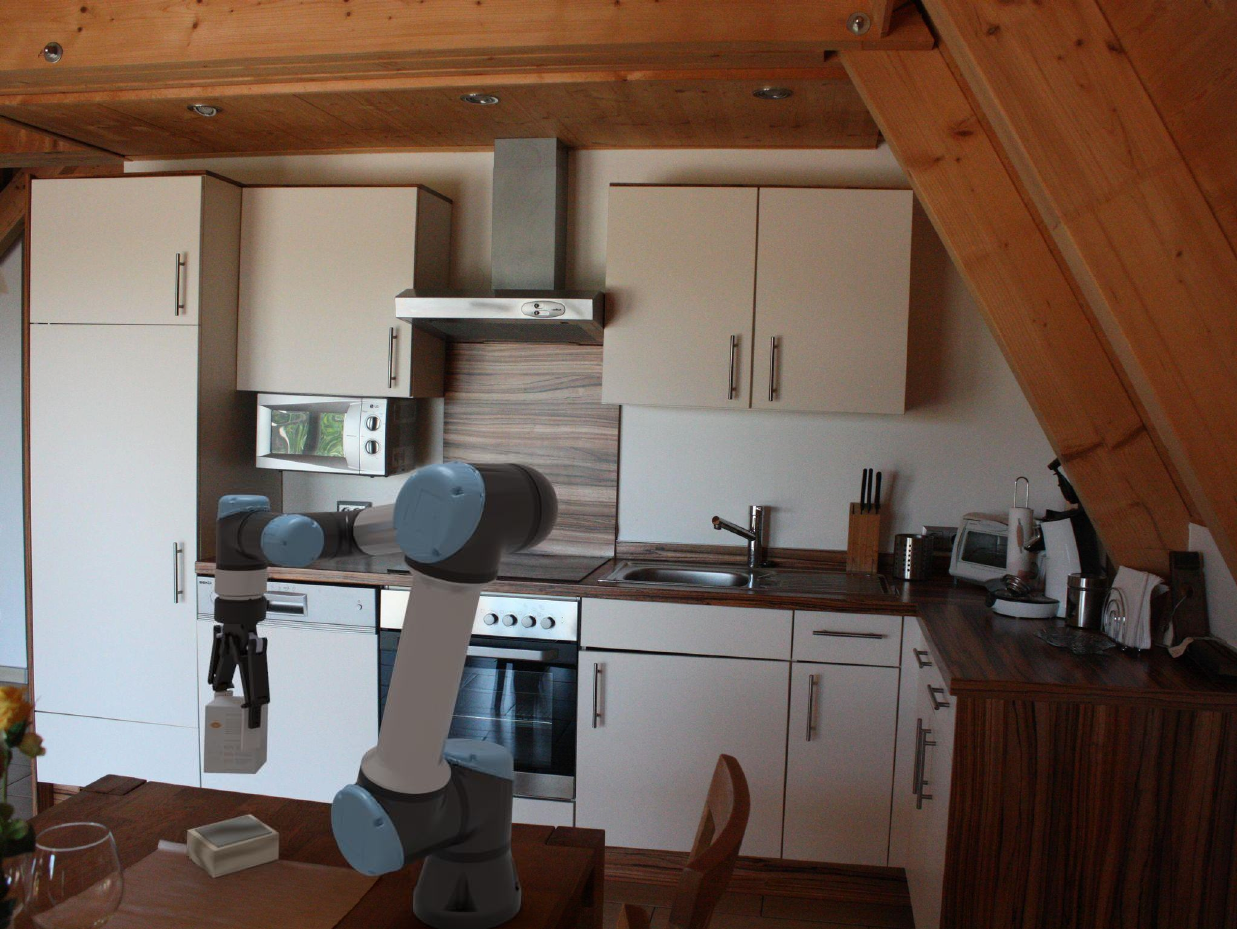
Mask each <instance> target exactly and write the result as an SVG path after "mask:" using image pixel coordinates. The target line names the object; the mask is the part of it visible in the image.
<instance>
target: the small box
mask: <svg viewBox="0 0 1237 929" xmlns="http://www.w3.org/2000/svg"><path fill="white" fill-rule="evenodd" d="M244 703H245V699H244V695H243V696H239V695H238V696H237V695H236V696H235V695H233V696H218V697H216V698H215V699H214V698H213V699H212V700H211V701H209V702H208V703H207V704H206V705H205V707H204V735H203V736H204V740H203V741H204V742H203V743H204V744H203V746H204V747H203V773H205V774H230V775H231V774H232V775H233V774H237V775H238V774H239V775H255V774H257V773H258V772H259V771H260V769H261V768H262V767H263V766H265V764H266V763H267V762H268V761H267V760H268V726H269V724H268V723H269V704H264V705H262V711H261V740H260V747H259V748H254V749H249V750H244V751H242V750H241V725H242V708H241V705H242V704H244Z"/></svg>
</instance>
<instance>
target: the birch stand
mask: <svg viewBox="0 0 1237 929" xmlns="http://www.w3.org/2000/svg"><path fill="white" fill-rule="evenodd" d="M186 832H187V833H186V857H188V856H189V857H188V858H189V859H190V860H191V859H192V860H191V861H192V862H194V864H196V865H197V866H198V867H200V869H202V870H203V871H205V872H206V873H207V874H208V875H209V876H211V877H212V879H214V878H218V877H221V876H226V875H229V874H233V873H236V872H239V871H243V870H246V869H249V868H252V867H256V866H259V865H262V864H268V863H269V862H273V861H276V860H279V847H280V832H278V831H276V830H275V829H273V828H272V827H271V826H269V825H268V824H266V823H265V822H262V821H261V820H259V818H256V817H255V816H254V815H253V814H251V813H249V814H245V815H241V816H237V817H234V818H230V819H229V818H228V819H225V820H222V821H218V822H214V823H210V824H207V825H202V826H198V827H194V828H191V829H187V831H186Z"/></svg>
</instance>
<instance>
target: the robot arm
mask: <svg viewBox="0 0 1237 929" xmlns="http://www.w3.org/2000/svg"><path fill="white" fill-rule="evenodd" d="M217 507H218V509H217V518H216V519H215V523H216V527H215V528H216V529H215V530H216V534H215V536H216V537H215V538H216V539H215V542H216V543H215V568H214V589H213V590H214V594H216V597H215V599H214V604H213V610H214V611H213V619H214V621H215V622H217V623H218V624H215V625H213V627H212V628H213V629H212V631H213V633H212V634H213V635H212V636H213V638H212V639H213V640H212V646H211V652H210V653H211V654H210V661H209V667H208V675H207V684H208V685H211V686H212V688H211V689H212V691H213V692H214V693H213V700H214V699H215V698H216V697H218V696H234V690H233V689H235V688H236V687H235V684H234V683H233V679H234V676H235V673H236V669H237V666H238V670H239V677H240V682H241V688H242V693H243V696H244V699H245V703H244V704H242V705H241V708H242V725H241V750H242V751H244V750H249V749H254V748H259V747H260V740H261V711H262V705H264V704H268V705H269V704H270V703H271V693H270V692H271V691H270V679H269V678H270V677H269V669H268V668H269V665H268V651H267V650H268V642H269V641H268V638H267V637H266V636H264V637H259V636H258V635H259V634H258V628H257V625H258V623H260V622H261V623H262V622H264V621H265V620H266V618H267V602H268V599H267V598H268V597H266V596H265V595H264V594H265V593H267V588H268V578H269V577H270V573H269V572H268V567H269V564H273V565H277V566H280V567H282V568H283V567H284V568H291V567H293V568H302V567H307V566H309V565H310V564H312V563H315V562H325V561H326V562H327V561H333V560H334V561H335V560H336V561H337V560H349V559H368V558H369V559H370V558H374V557H378V556H381V555H387V554H388V555H389V554H395V553H404V557H403V558H404V559H403V563H404V565H405V567H406V568H407V569H408V571H409V573H410V574H411V576H412V581H411V585H410V589H409V590H410V591H409V594H408V599H407V603H406V608H405V613H404V618H403V621H402V622H403V623H402V627H401V630H400V631H401V632H400V636H399V639H398V640H399V642H398V646H397V651H396V655H395V659H394V660H395V661H394V664H393V668H392V672H391V673H392V674H391V678H390V682H389V688H388V690H387V691H388V692H387V696H386V702H385V705H384V711H383V715H382V721H381V725H380V730H379V735H378V738H377V743H376V745H375V746H374V747H372V748H370V749H369V750H367V751H366V752H365V753H364V754H363V756H362V758H361V760H360V765H359V769H358V774H357V779H356V781H355V783H349V784H346V785H345V786H344V787H343V788H342V789H340V790H338V792H336V794H335V795H334V797H333V800H332V802H331V810H330V820H331V827H332V832H333V837H334V838H335V841H336V843H337V846H338V849H339V850H340V853H341V854H342V855H343V858H344V859H345V861H346V862H347V863H348V864H349V865H350V866H351V867H352V868H353V869H354V870H356V871H357V872H359V873H361V874H362V875H364V876H368V877H374V876H375V877H377V876H381V875H384V874H387V873H389V872H396V871H398V870H401V868H403V867H406V866H408V865H410V864H413V863H415V862H418V861H420V860H422V859H424V858H425V859H424V861H423V865H422V868H421V871H420V874H419V878H418V881H417V883H416V885H415V887H414V890H413V895H412V896H413V897H412V898H413V900H412V902H413V903H412V905H413V906H412V910H413V913H414V916H416V918H417V919H418V920H419V921H421V922H422V923H424V924H426V925H427V926H430V927H432V928H435V929H492V928H495V927H498V926H501V925H503V924H505V923H507V922H509V921H510V920H512V919H513V918H515V916H517V914H518V912H519V911H520V910H521V907H522V906H521V905H522V904H521V902H522V887H521V884H520V880H519V876H518V872H517V869H516V866H515V863H514V858H513V855H512V851H511V845H512V844H511V843H512V842H511V840H512V825H513V822H512V821H513V806H514V804H513V803H514V802H513V800H514V784H515V782H514V781H515V775H514V758H513V754H512V753H511V751H510V750H509V749H508V748H506V747H505V746H503V745H501V744H498V743H494V742H492V741H486V740H482V739H474V738H473V739H472V738H448V737H449V732H450V728H451V725H452V724H451V723H452V719H453V716H454V711H455V707H456V706H455V705H456V702H457V699H458V698H457V697H458V693H459V689H460V686H461V679H462V676H463V672H464V668H465V664H466V659H467V654H468V650H469V645H470V642H471V641H470V640H471V636H472V632H473V628H474V624H475V621H476V617H477V616H476V615H477V610H478V606H479V602H480V596H481V593H482V590H483V589H486V587H488V586H490V585H492V584H494V583H495V582H496V580H497V577H498V574H499V568H500V565H501V562H502V561H501V560H502V556H503V555H508V554H514V553H515V554H516V553H521V552H525V551H528V550H531V549H533V548H535V547H537V546H539V545H540V544H541V543H543V542H544V541H546V539H547V538H548V537H549V536H550V535H551V533H552V531H553V530H554V527H556V526H555V525H556V522H557V520H558V515H559V501H558V496H557V493H556V490H555V488H554V487H553V484H552V483H551V482H550V480H549V479H548V478H547V477H546V476H545V475H544V474H543V473H542V472H541V471H539V470H537V469H536V468H534V467H531V466H528V465H525V464H520V463H513V462H511V463H510V462H509V463H508V462H507V463H488V462H487V463H485V462H484V463H483V462H479V463H478V462H462V461H448V462H443V463H434V464H429V465H426V466H424V467H422V468H420V469H419V470H418V471H416V472H414V473H413V474H411V475H410V476H409V477H408V478H407V479H406V481H405V482H404V483H403V485H402V486H401V488H400V490H399V492H398V494H397V497H396V500H395V502H393V503H387V504H383V505H377V506H371V507H365V508H358V509H352V510H339V511H315V512H313V511H312V512H275V511H272V509H271V503H270V500H269V498H268V496H264V495H257V494H255V495H254V494H228V495H223V496H222V497H221V498H220V499H219V501H218V506H217Z"/></svg>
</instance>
